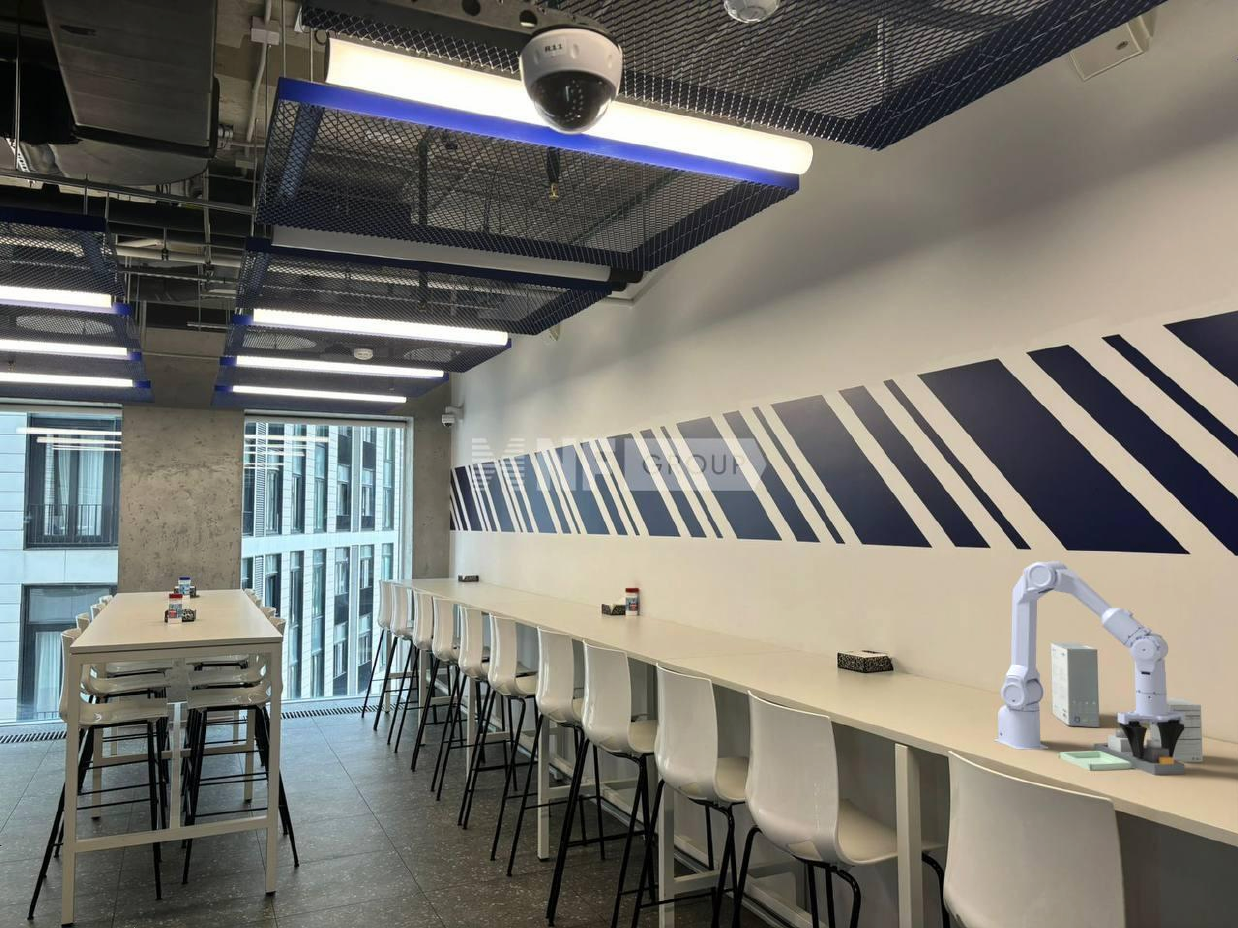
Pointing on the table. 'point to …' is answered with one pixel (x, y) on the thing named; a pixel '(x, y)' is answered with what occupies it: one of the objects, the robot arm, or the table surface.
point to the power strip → (1162, 768)
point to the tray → (1095, 760)
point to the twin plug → (1119, 741)
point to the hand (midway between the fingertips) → (1152, 757)
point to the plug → (1154, 751)
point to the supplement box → (1185, 731)
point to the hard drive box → (1075, 684)
